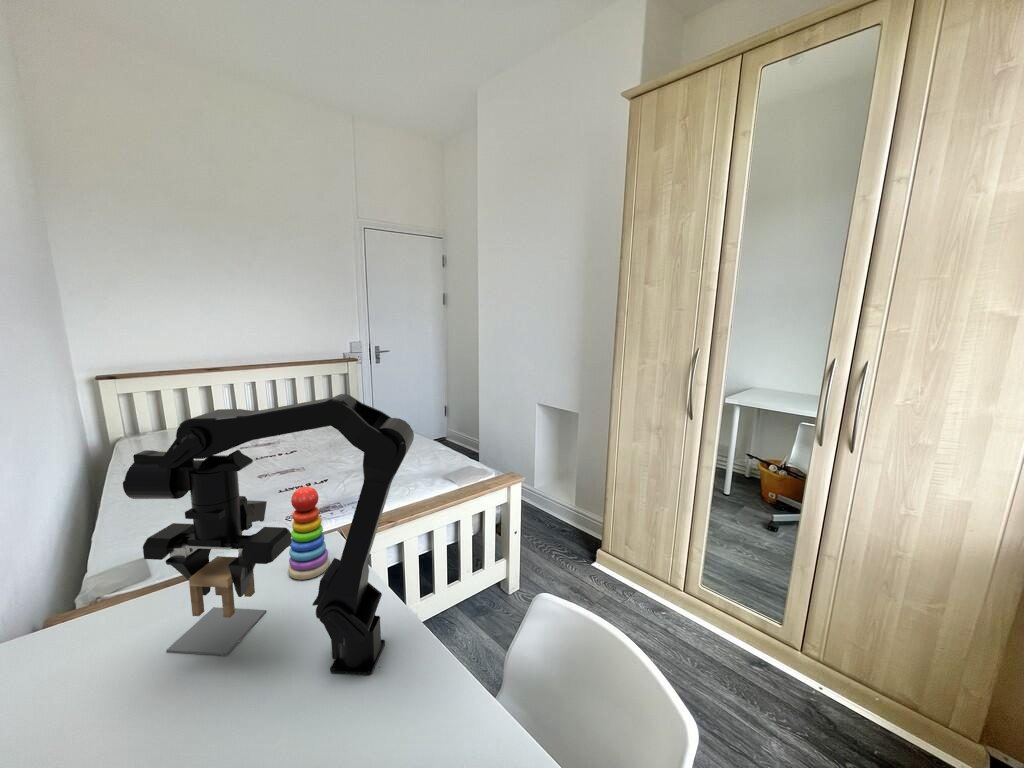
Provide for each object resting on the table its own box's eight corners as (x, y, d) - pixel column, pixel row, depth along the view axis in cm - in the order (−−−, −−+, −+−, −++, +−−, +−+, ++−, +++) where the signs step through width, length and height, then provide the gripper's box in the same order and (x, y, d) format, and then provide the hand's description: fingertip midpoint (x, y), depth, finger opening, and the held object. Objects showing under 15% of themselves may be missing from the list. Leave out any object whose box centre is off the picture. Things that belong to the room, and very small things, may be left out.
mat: (266, 611, 76) (266, 609, 76) (226, 655, 66) (226, 653, 66) (213, 609, 76) (213, 607, 76) (166, 652, 66) (166, 650, 66)
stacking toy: (280, 574, 87) (273, 489, 84) (313, 555, 94) (308, 476, 91) (304, 586, 83) (298, 498, 80) (337, 565, 90) (333, 484, 87)
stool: (254, 592, 66) (252, 557, 65) (230, 617, 60) (227, 580, 59) (220, 591, 66) (217, 556, 65) (192, 615, 60) (188, 578, 59)
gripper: (307, 478, 68) (311, 565, 71) (196, 474, 69) (204, 561, 71) (266, 509, 57) (272, 611, 60) (133, 504, 58) (145, 605, 60)
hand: (224, 594), depth 63 cm, fingers closed on stool, 5 cm apart
